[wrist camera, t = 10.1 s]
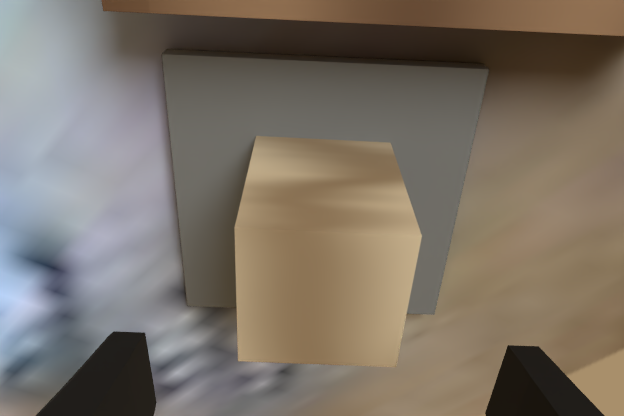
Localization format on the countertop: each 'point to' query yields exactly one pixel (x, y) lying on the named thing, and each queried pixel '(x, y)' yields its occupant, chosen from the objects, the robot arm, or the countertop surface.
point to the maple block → (323, 253)
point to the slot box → (409, 12)
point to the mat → (313, 125)
